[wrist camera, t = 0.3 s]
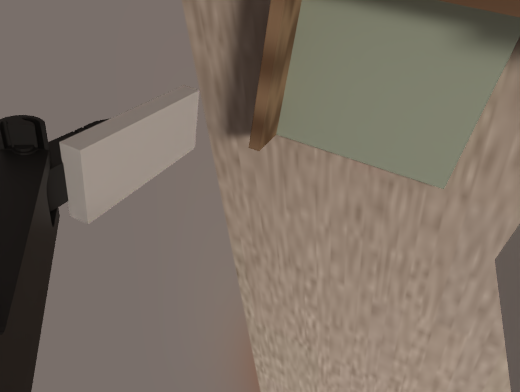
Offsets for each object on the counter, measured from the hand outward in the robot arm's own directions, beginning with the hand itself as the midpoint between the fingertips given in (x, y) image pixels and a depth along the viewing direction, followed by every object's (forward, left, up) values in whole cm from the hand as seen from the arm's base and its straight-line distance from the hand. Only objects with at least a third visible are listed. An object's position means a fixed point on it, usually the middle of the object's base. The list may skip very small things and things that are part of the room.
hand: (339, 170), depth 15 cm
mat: (+3, -2, -27) cm, 27 cm away
